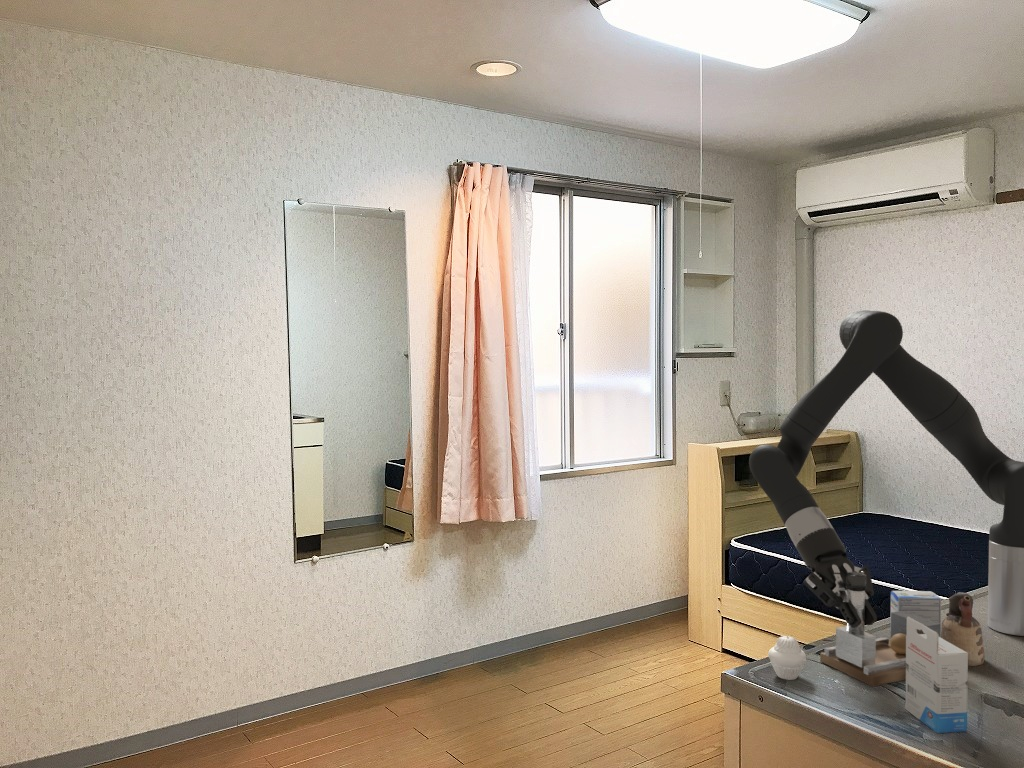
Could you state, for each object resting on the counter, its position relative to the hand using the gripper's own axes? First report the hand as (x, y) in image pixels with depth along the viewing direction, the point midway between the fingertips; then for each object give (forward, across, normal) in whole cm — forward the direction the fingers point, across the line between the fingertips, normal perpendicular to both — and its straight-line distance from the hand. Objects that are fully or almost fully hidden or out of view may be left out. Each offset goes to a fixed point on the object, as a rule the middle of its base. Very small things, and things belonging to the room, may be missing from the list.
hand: (864, 623), depth 141 cm
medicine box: (-1, +23, +14) cm, 27 cm away
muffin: (+3, -12, +10) cm, 16 cm away
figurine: (+7, +22, +6) cm, 24 cm away
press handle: (+4, 0, +6) cm, 7 cm away
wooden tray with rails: (+5, +7, +8) cm, 11 cm away
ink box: (+19, -3, -6) cm, 20 cm away
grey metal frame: (+4, +7, +7) cm, 10 cm away
